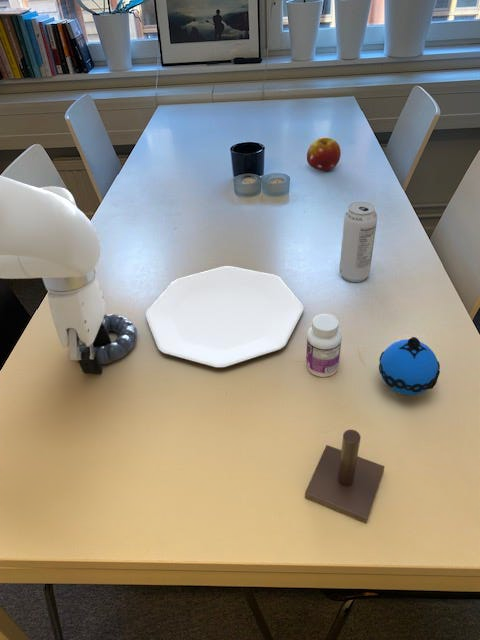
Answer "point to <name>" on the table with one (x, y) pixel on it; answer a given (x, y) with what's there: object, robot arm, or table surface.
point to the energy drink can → (358, 241)
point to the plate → (224, 316)
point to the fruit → (323, 154)
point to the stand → (345, 479)
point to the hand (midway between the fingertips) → (98, 358)
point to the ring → (121, 343)
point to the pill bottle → (323, 345)
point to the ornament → (409, 367)
